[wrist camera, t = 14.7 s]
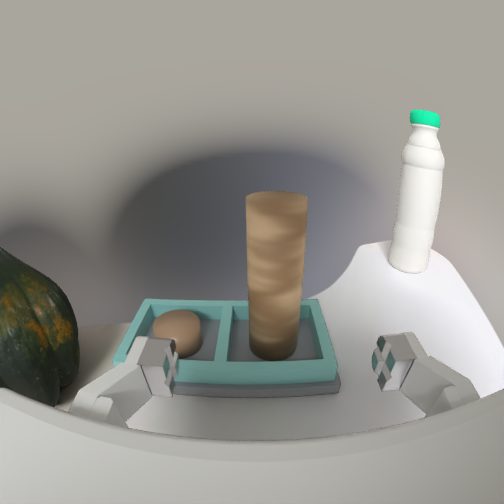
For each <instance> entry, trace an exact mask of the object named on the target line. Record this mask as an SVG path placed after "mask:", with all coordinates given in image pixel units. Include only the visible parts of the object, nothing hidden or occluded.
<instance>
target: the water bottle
mask: <svg viewBox="0 0 504 504" xmlns="http://www.w3.org/2000/svg"><path fill="white" fill-rule="evenodd" d="M410 122H411V123H412V124H411V126H412V128H413V133H412V135H411V136H410V138H409V139H408V142H407V143H408V144H406V146H405V147H404V149H403V151H402V155H401V159H402V162H403V163H402V168H401V174H400V182H399V191H398V200H397V214H396V221H395V224H394V229H393V241H392V244H391V247H390V252H389V262H390V264H391V265H392V266H393V267H394V268H396V269H398V270H400V271H402V272H406V273H413V274H415V273H421V272H423V271H424V270H425V269H426V268H427V265H428V261H429V256H430V248H431V246H432V242H433V238H434V227H435V223H436V220H437V216H438V211H439V204H440V198H441V190H442V171H443V169H444V165H445V161H444V156H443V154H442V151H441V150H440V149H441V147H440V143H439V141H438V140H437V131H438V130H439V129H438V128H439V127H440V117H439V115H438V114H436V113H434V112H430V111H425V110H412V111H411V113H410Z"/></svg>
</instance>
